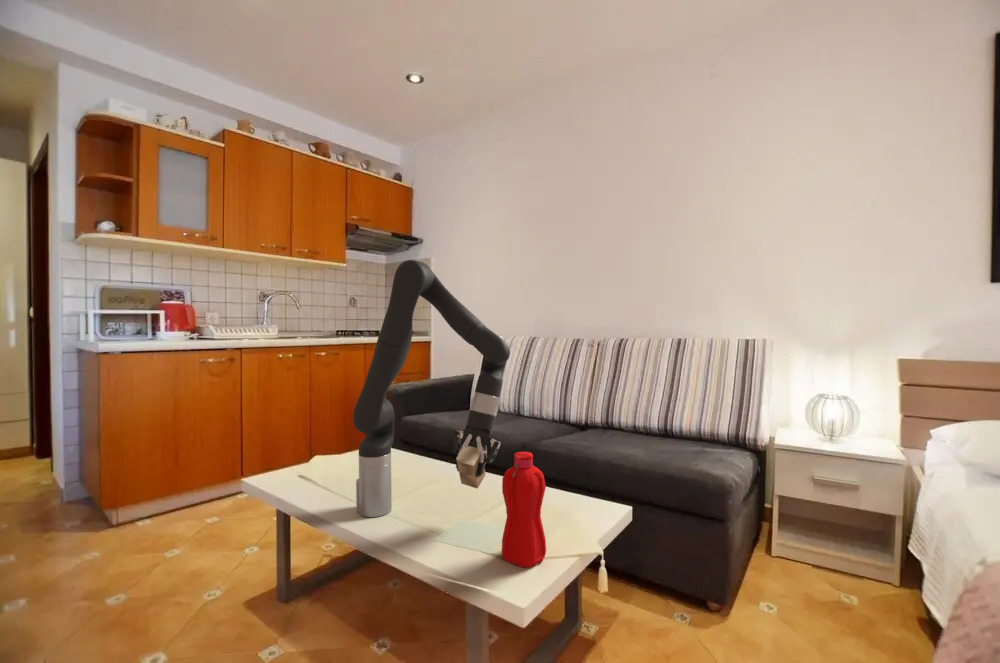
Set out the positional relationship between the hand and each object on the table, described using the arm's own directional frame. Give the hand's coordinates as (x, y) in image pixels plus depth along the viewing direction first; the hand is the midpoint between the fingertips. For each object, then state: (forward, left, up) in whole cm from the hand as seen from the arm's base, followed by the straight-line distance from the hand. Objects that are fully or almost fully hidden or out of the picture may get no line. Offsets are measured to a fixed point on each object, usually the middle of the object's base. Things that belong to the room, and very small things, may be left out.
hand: (468, 473), depth 122 cm
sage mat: (+3, -3, -15) cm, 16 cm away
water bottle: (+19, -9, -15) cm, 26 cm away
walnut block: (-1, +4, -3) cm, 5 cm away
